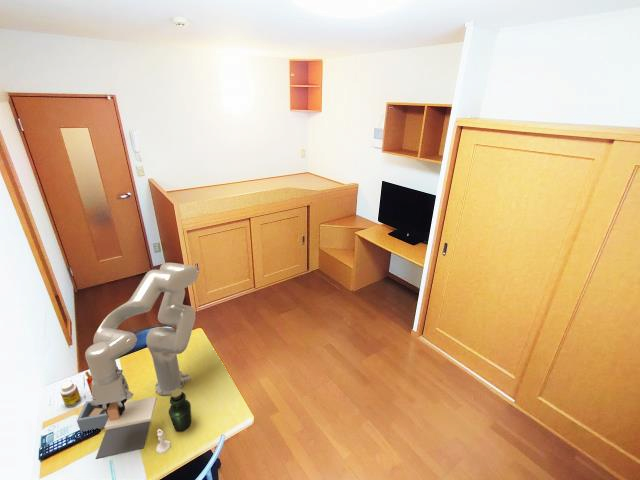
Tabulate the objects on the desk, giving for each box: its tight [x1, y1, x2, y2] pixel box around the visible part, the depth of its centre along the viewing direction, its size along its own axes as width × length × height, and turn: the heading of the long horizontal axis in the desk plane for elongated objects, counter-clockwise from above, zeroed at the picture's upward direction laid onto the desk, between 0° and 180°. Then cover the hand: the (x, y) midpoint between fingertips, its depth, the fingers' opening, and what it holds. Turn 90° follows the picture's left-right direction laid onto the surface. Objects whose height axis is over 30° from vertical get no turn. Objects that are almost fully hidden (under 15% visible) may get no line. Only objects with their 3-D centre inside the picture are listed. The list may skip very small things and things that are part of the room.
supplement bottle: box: [60, 380, 82, 408], centre depth 134 cm, size 6×6×10 cm
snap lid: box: [104, 396, 158, 431], centre depth 117 cm, size 15×10×6 cm, turn 106°
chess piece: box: [155, 428, 171, 455], centre depth 117 cm, size 5×5×10 cm
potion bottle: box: [168, 388, 192, 433], centre depth 124 cm, size 8×8×18 cm
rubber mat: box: [95, 420, 152, 460], centre depth 122 cm, size 16×12×1 cm
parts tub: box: [76, 399, 108, 433], centre depth 128 cm, size 14×9×7 cm, turn 106°
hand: (116, 412), depth 116 cm, fingers closed on snap lid, 3 cm apart
